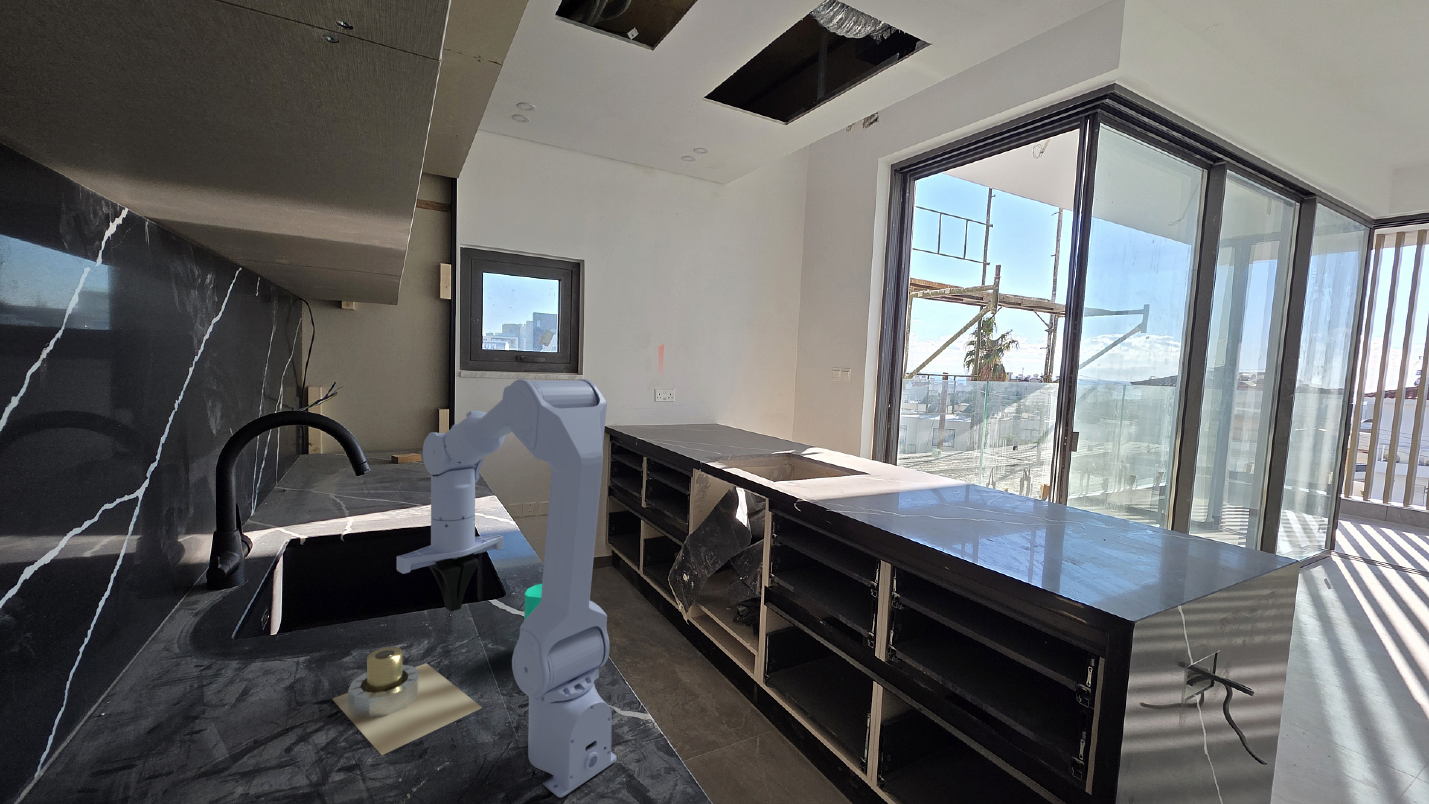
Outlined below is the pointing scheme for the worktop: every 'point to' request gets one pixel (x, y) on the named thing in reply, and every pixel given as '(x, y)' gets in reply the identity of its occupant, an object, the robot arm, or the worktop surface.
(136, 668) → the worktop surface
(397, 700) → the bore collar
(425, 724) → the jig plate
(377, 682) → the brass sleeve
